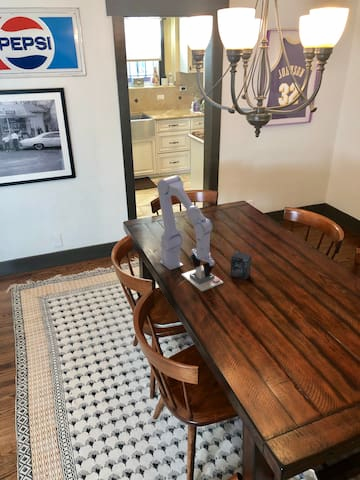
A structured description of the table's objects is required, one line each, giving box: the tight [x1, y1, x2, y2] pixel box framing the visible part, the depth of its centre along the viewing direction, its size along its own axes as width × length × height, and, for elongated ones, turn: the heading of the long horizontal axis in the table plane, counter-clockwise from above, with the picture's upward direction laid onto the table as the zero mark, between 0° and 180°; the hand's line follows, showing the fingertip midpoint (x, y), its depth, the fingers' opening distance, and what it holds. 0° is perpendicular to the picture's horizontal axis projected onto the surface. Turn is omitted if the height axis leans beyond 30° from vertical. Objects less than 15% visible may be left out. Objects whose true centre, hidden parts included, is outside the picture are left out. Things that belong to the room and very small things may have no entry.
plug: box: [196, 265, 205, 279], centre depth 168 cm, size 4×5×5 cm
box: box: [229, 251, 252, 280], centre depth 170 cm, size 8×6×11 cm
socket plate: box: [181, 269, 224, 292], centre depth 169 cm, size 16×12×2 cm
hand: (202, 272), depth 168 cm, fingers open, 7 cm apart
